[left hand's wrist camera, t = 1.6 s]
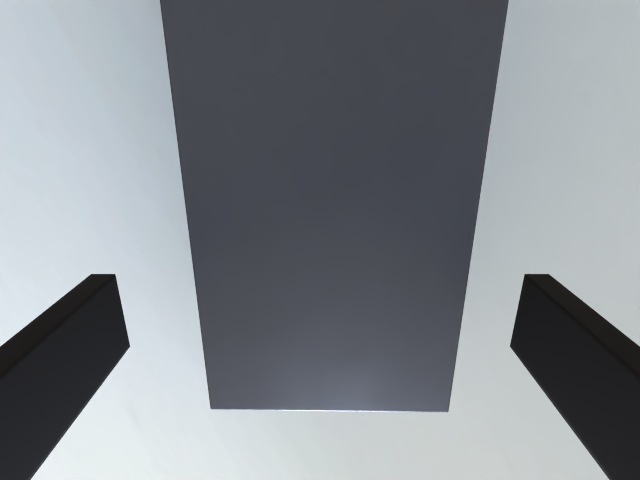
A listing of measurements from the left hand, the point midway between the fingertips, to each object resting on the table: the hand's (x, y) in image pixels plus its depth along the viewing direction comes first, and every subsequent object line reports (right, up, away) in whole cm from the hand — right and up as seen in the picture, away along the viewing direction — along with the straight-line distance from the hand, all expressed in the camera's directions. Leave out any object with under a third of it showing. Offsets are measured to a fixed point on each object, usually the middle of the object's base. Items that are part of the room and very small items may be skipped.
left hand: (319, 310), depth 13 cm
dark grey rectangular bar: (0, +23, 0) cm, 23 cm away
